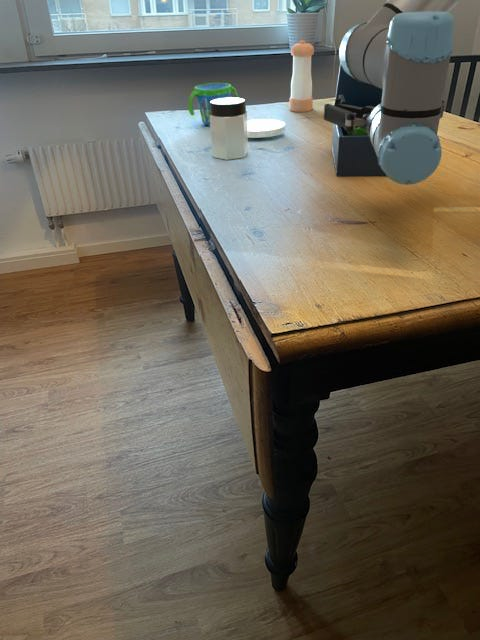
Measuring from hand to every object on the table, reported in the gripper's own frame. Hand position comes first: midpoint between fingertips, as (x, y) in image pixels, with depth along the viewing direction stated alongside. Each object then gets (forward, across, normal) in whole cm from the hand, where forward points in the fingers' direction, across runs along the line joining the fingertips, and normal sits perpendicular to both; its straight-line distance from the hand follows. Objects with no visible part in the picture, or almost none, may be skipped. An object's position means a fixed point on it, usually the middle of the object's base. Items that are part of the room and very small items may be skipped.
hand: (377, 101), depth 93 cm
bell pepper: (+7, 0, -14) cm, 16 cm away
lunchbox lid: (+14, 0, +1) cm, 14 cm away
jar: (+18, -31, -15) cm, 39 cm away
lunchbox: (+12, 0, -15) cm, 19 cm away
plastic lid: (+36, -25, -15) cm, 47 cm away
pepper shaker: (+67, -14, -15) cm, 70 cm away
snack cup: (+50, -39, -15) cm, 65 cm away
